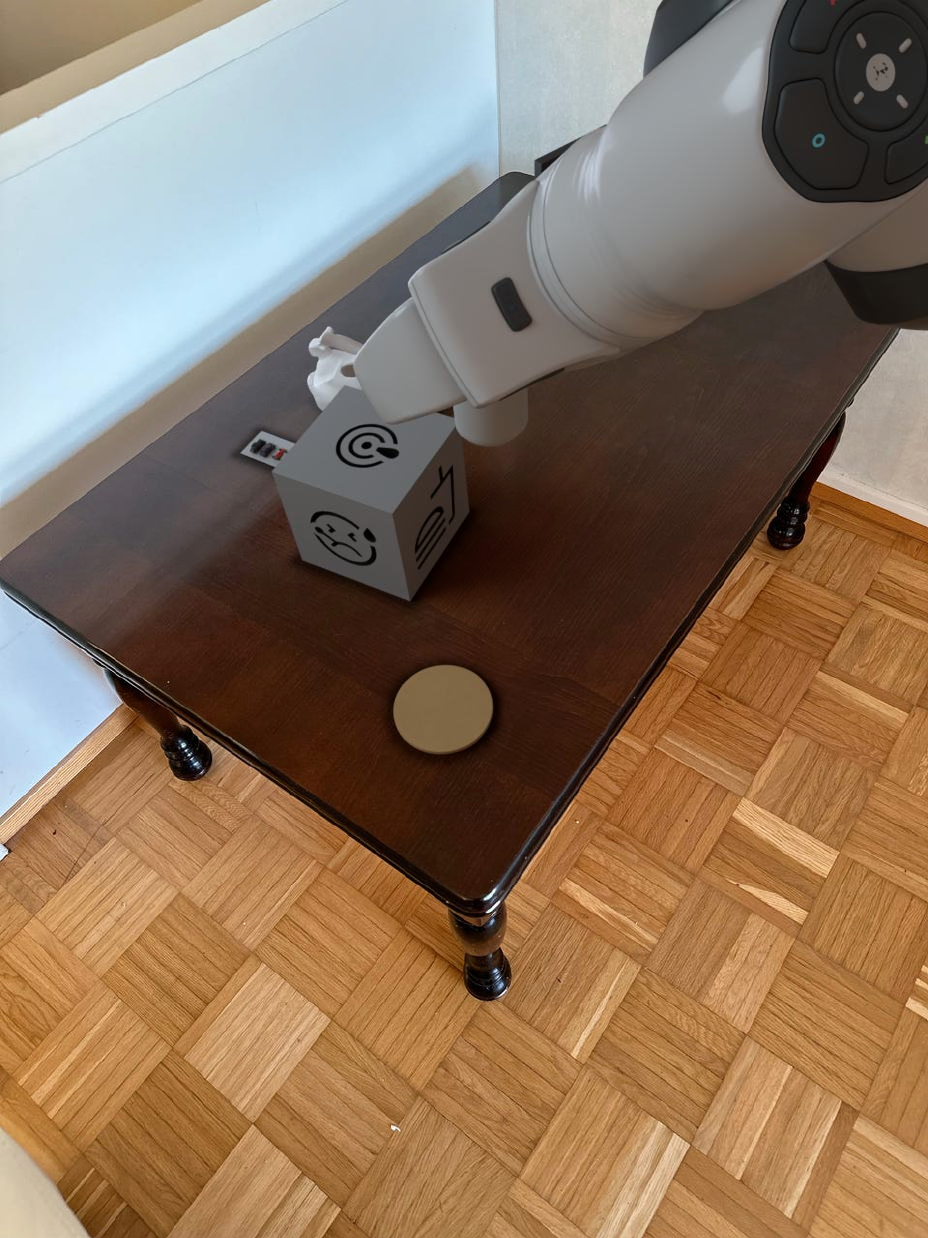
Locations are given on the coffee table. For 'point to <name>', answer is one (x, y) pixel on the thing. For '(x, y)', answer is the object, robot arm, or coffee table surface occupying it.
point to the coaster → (443, 709)
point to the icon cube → (374, 493)
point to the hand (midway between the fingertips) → (479, 337)
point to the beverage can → (492, 418)
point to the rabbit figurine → (332, 366)
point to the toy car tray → (268, 448)
